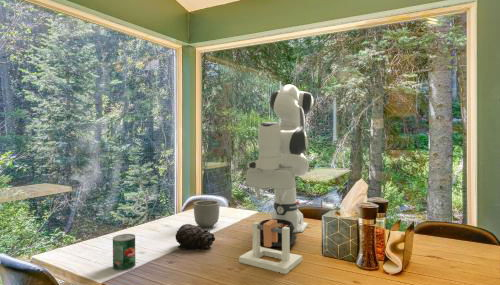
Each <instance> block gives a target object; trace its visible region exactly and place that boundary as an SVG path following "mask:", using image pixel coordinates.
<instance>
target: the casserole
mask: <svg viewBox="0 0 500 285" xmlns="http://www.w3.org/2000/svg"><path fill="white" fill-rule="evenodd" d="M271 219H272V218H271ZM271 219H264V220H261V221H260V225H262V226H263V224H264V223H266V222H268V221H269V220H271ZM273 220H277V228H279V229H282V228H283V227H290V246H293V245H294V244H295V241H296V239H297V235H295V233H293V230H294V229H295V227H294V226H293V224H292V222H290V221H287V220H282V219H273ZM260 242H261V243H264V233H263V230H260ZM271 247H282V233H278V242H276V243H275V242H272V246H271Z"/></svg>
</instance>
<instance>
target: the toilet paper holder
mask: <svg viewBox="0 0 500 285" xmlns="http://www.w3.org/2000/svg"><path fill="white" fill-rule="evenodd" d="M260 222H261V221H260ZM260 222H259V221H258V222H257V221H253V222H252V226H251V228H252V229H251V230H252V235H251V236H252V248H251V250H249V251H246V252H245V253H244V254H242V255H239V257H238V262H239V263H241V264H245V265H248V266H253V267H256V268H261V269H265V270H269V271H272V272H275V273H279V272H280V274H284V275H287V274H288V273H289V272H291V271H292V270H293V269H294V268H296V267H297V266H298V265H299V264H300V263H301V262H303V255H300V254H297V253H296V254H295V253H291V250H290V248H291V245H290V227H283V228H282V229H279V228H272V229H271V232H277V233H282V246H281V250H278V249H273V248H270V247H265V246H264V247H263V246H261V241H260V230H263V226H262V225H260ZM263 256H265V257H269V258H273V257H274V259H277V258H278V260H280V261H279V262H276V261H272V260H267V259H264V258H262V257H263ZM290 270H291V271H290Z"/></svg>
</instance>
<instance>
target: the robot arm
mask: <svg viewBox="0 0 500 285" xmlns="http://www.w3.org/2000/svg"><path fill="white" fill-rule="evenodd" d="M269 105H270V109H272V111H274V114H275V116H276V117H277V118H279V119H280V123H279V122H277V121H273V120H272V121H271V120H270V121H263V122H261V123H260V124H259V127H258V135H257V145H258V146H257V147H258V156H257V159H255V160H253V161H250V162H247V165H246V167H247V171H246V173H245V174H246V175H245V176H246V177H245V183H246V185H247V187H251V188H252V187H253V188H254V191H255V193H256V195H257V196H256V197H257V199H259V200H260V199H263V198H264V197H263V196H264V195H263V193H261V190H260V189H261V188H263V189H271V190H272V189H273V190H274V191H273V192H274V202H273V210H272V212H271V219H282V220H287V221H290V222H292V224H293V226H294V227H295V229H294V230H293V234H295V233H303V231H304V230H305V229H306V228H307V227H308V222H305V221H304V214H303V213H302V212H301V211H300V210H299V208H298V206H300V201H297V188H296V186H297V184H296V177H301V176H305V175H306V174H307V173H308V172H309V169H310V162H309V159H308V158H307V157H306V156H305V155H304V153H305V152H306V151H307V150H308V145H309V143H308V142H309V141H308V136H307V129H306V118H305V115H306V114H309V112H310V111H311V110H312V108H313V105H314V97H313V94H312V93H311V92H308V91H301V90H299V89H298V88H297V86H295V85H293V84H286V85H283V86H282V87H281V88H280V89H279V90H275V91H273V92H272V93H271V95H270V97H269Z"/></svg>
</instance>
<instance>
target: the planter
mask: <svg viewBox="0 0 500 285" xmlns="http://www.w3.org/2000/svg"><path fill="white" fill-rule="evenodd" d="M220 206H221V204H220V202H219V201H217V200H210V199H206V200H197V201H194V202H193V206H192V207H193V218H194V221H195V224H196V225H197V226H198V227H201V228H202V229H207V230H208V229H212V228H213V227H214V226H215V225H216V224H217V223H218V221H219V219H220Z"/></svg>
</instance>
